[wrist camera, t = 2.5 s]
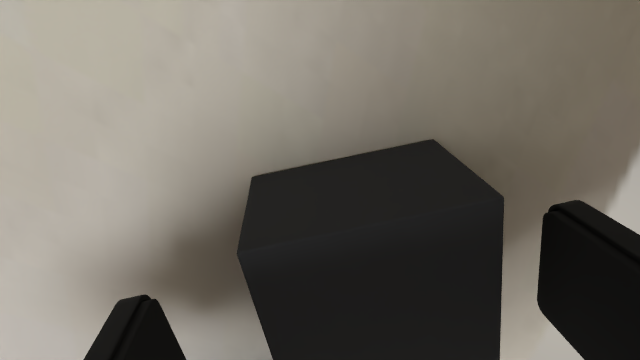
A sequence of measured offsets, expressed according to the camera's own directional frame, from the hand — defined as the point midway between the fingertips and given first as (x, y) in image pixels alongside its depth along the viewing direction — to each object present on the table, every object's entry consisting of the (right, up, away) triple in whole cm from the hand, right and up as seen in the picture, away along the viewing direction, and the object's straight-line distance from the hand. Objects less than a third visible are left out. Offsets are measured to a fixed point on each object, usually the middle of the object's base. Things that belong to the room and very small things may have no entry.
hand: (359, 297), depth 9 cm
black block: (0, +1, +2) cm, 2 cm away
